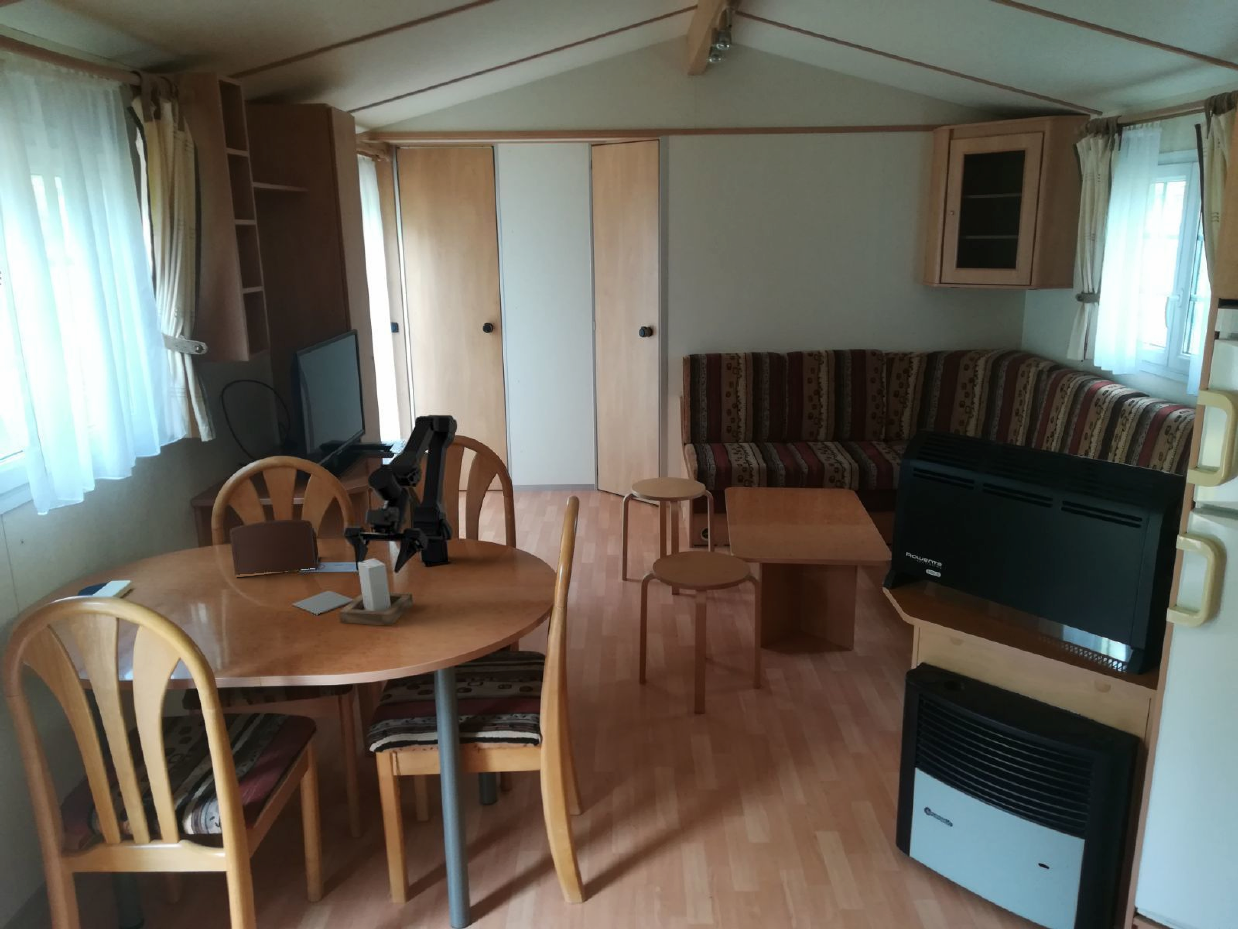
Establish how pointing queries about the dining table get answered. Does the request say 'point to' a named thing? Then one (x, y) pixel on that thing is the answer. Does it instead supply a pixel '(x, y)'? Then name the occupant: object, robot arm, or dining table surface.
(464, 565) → the dining table surface
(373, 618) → the walnut collar
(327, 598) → the grey mat
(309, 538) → the letter holder
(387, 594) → the skincare box
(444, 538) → the robot arm
